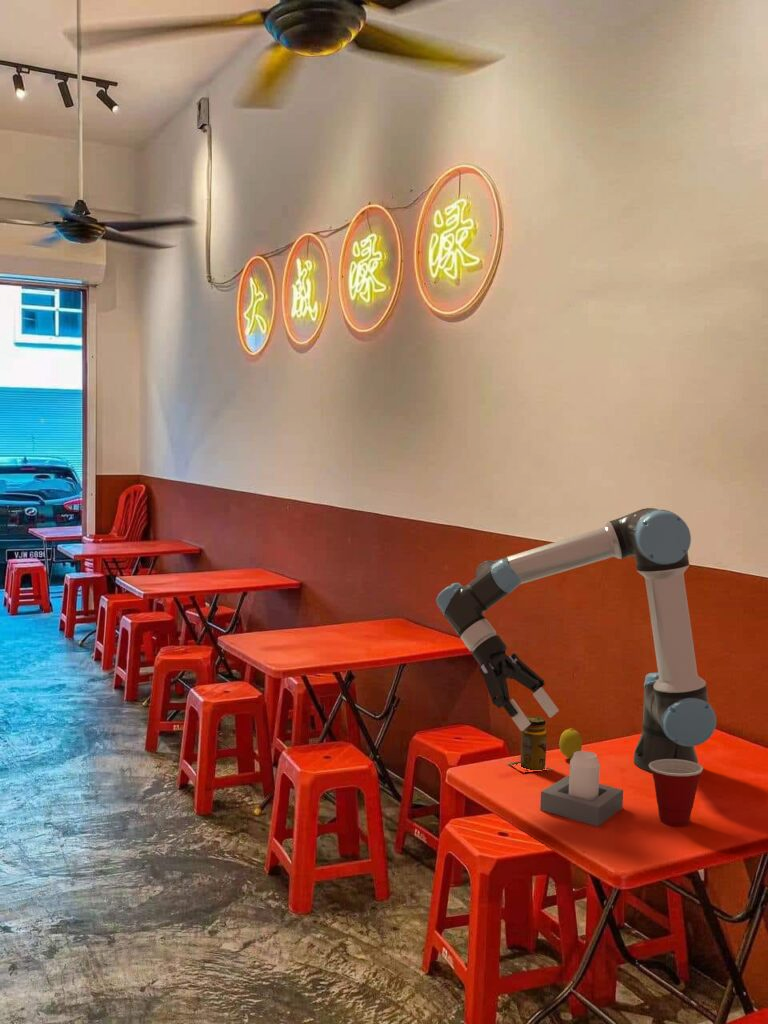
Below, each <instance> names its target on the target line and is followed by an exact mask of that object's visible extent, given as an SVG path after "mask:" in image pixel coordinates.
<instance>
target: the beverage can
mask: <svg viewBox="0 0 768 1024" xmlns="http://www.w3.org/2000/svg"><path fill="white" fill-rule="evenodd" d="M600 768H601V764H600V762H599V760H598V755H597V754H596V753H594V752H592V751H587V750H581V751H576V752H574V755H573V757H572V759H569V775H568V776H569V795H572V796H576V797H580V798H583V799H587V800H591V801H593V800H594V799H596V798H597V797H598V793H599V784H600V771H601V769H600Z"/></svg>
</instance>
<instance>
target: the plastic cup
mask: <svg viewBox="0 0 768 1024" xmlns="http://www.w3.org/2000/svg"><path fill="white" fill-rule="evenodd" d="M649 768H650V769H651V771H652V772H651V774H652V779H653V783H654V791H655V798H656V803H657V808H658V809H657V810H658V816H659V820H660V822H662V823H663V824H666V825H668V826H671V827H672V826H673V827H685V826H688V824H689V822H690V820H691V815H692V811H693V808H694V803H695V799H696V793H697V791H698V790H697V788H698V785H699V783H700V777H701V774H702V772H703V770H704V767H703V766H702V765H701V764H700V763H698V764H697V763H695V762H691V761H687V760H679V759H662V760H655V761H653V762H650V764H649Z"/></svg>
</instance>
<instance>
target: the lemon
mask: <svg viewBox="0 0 768 1024" xmlns="http://www.w3.org/2000/svg"><path fill="white" fill-rule="evenodd" d="M558 743H559V745H558V746H559V750H560V752H561V754H562V755H563V756H565V757H566V758H567V759H568V760H571V759H572V757H573V755H574V752H576V751H582V748H583V741H582V737H581V734H580V733H579V732H578V730H575V729H574V728H573V727H570V728H568V729H565V730H564V731H563V732H562V733H561V735H560V738H559V741H558Z"/></svg>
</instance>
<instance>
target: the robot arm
mask: <svg viewBox="0 0 768 1024" xmlns="http://www.w3.org/2000/svg"><path fill="white" fill-rule="evenodd" d="M691 542H692V536H691V531H690V528H689V526H688V525H687V523H686V521H685V520H684V519H683V518H681V517H680V516H679V515H677V514H676V513H674V512H672V511H670V510H667V509H658V508H652V507H650V508H649V507H646V508H642V509H640V510H635V511H633V512H631V513H628V514H626V515H624V516H621V517H619V518H615V519H613V520H608V521H607V522H606V523H605V524H604V526H603V527H600V528H597V529H594V530H591V531H587V532H585V533H581V534H578V535H575V536H571V537H568V538H564V539H561V540H558V541H554V542H551V543H547V544H545V545H541V546H538V547H534V548H532V549H529V550H525V551H522V552H519V553H515V554H512V555H508V556H505V557H501V558H498V559H496V560H486V561H483V562H482V563H480V564H479V565H478V567H477V569H476V571H475V575H474V577H475V578H474V579H473V580H471V581H470V582H469V583H467V584H466V585H462V584H461V583H459V582H454V583H451V584H450V585H448V586H446V587H445V588H444V589H442V590H441V591H440V592H439V593H438V594H437V597H436V599H435V601H436V605H437V607H438V609H439V610H440V611H441V613H442V614H443V617H444V618H445V619H446V621H447V622H448V623H449V625H450V626H451V627H452V629H453V630H454V631H455V633H456V634H457V635H458V637H459V638H460V639H461V640H462V643H464V646H466V647H467V649H468V650H469V652H472V656H473V658H474V660H475V661H476V662H477V663H478V664H479V666H480V667H478V670H479V672H480V674H481V676H482V677H483V680H484V682H485V685H486V687H487V691H488V693H489V696H490V699H491V701H492V704H493V705H494V706H496V707H497V708H499V709H501V708H502V707H503V709H504V710H505V711H506V713H508V715H509V718H511V719H512V721H513V722H514V724H515V725H516V727H518V730H519V731H520V732H522V731H523V730H524V729H526V728H527V727H528V726H529V725H530V724H531V723H530V721H529V720H528V719H527V717H528V716H526V715H525V713H524V712H523V710H522V709H521V708H520V706H519V705H518V703H517V702H516V701H515V700H514V698H511V697H510V692H509V687H508V682H507V679H510V680H514V681H516V682H518V683H519V684H520V685H521V686H523V687H525V688H527V689H528V690H530V691H531V692H533V693H532V695H533V698H534V699H535V700H536V701H537V702H538V704H539V705H540V706H541V708H542V709H543V711H544V712H545V714H547V717H549V718H550V719H551V718H553V716H555V715H556V714H557V713H559V711H560V710H559V708H558V707H557V705H556V704H555V702H553V699H552V698H550V696H549V694H548V693H547V692H546V690H544V688H543V686H545V685H546V683H545V680H544V679H543V678H542V677H541V676H539V675H538V674H537V673H536V672H535V671H534V670H533V669H531V668H530V667H529V666H528V665H527V664H526V663H525V662H523V661H522V660H521V659H520V658H519V656H518V655H517V654H516V653H515V652H513V653H512V654H511V655H510V656H508V655H507V653H506V651H507V644H506V643H505V642H504V641H503V639H502V638H501V637H500V635H498V634H497V631H496V629H495V628H494V627H493V626H492V624H491V623H490V622H489V620H487V618H486V617H485V615H484V613H485V612H487V611H488V610H489V609H490V608H491V607H493V606H494V605H496V604H497V603H498V602H500V601H501V600H503V599H504V598H505V597H506V596H508V595H509V594H511V593H513V592H514V590H515V589H517V588H518V587H519V586H521V585H523V584H526V583H530V582H533V581H536V580H540V579H543V578H546V577H549V576H553V575H557V574H560V573H564V572H566V571H570V570H573V569H577V568H580V567H584V566H586V565H591V564H593V563H597V562H600V561H604V560H606V559H607V560H608V559H610V558H611V559H612V558H615V559H618V560H622V559H626V558H628V557H634V560H635V565H636V572H637V573H638V574H639V575H641V576H642V577H644V581H645V587H646V588H645V589H646V595H647V603H648V610H649V617H650V623H651V630H652V637H653V638H652V639H653V644H654V652H655V658H656V659H655V660H656V667H657V672H650V673H649V672H648V673H647V674H646V675H645V677H644V678H645V679H644V683H643V687H644V690H643V711H642V713H643V714H642V716H643V718H642V731H641V735H640V737H639V740H638V742H637V745H636V747H635V750H634V752H633V762H634V765H636V766H637V767H638V768H640V769H642V770H645V771H647V772H650V773H652V771H651V769H650V768H649V764H650V762H653V761H655V760H662V759H679V760H687V761H691V762H695V763H697V764H699V760H698V756H697V753H696V749H695V746H696V747H697V746H700V745H702V744H704V743H706V742H707V741H708V740H709V739H711V737H712V735H713V734H714V732H715V731H716V727H717V716H716V714H715V710H714V708H713V706H712V705H711V704H710V703H709V696H708V690H707V682H706V680H704V678H702V677H701V676H699V675H698V667H697V661H696V660H697V659H696V654H695V647H694V638H693V632H692V624H691V617H690V611H689V604H688V598H687V597H688V595H687V590H686V583H685V582H686V581H685V575H684V574H685V572H686V571H687V570H688V569H689V567H690V561H689V560H690V559H689V553H688V551H689V550H690V547H691Z"/></svg>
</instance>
